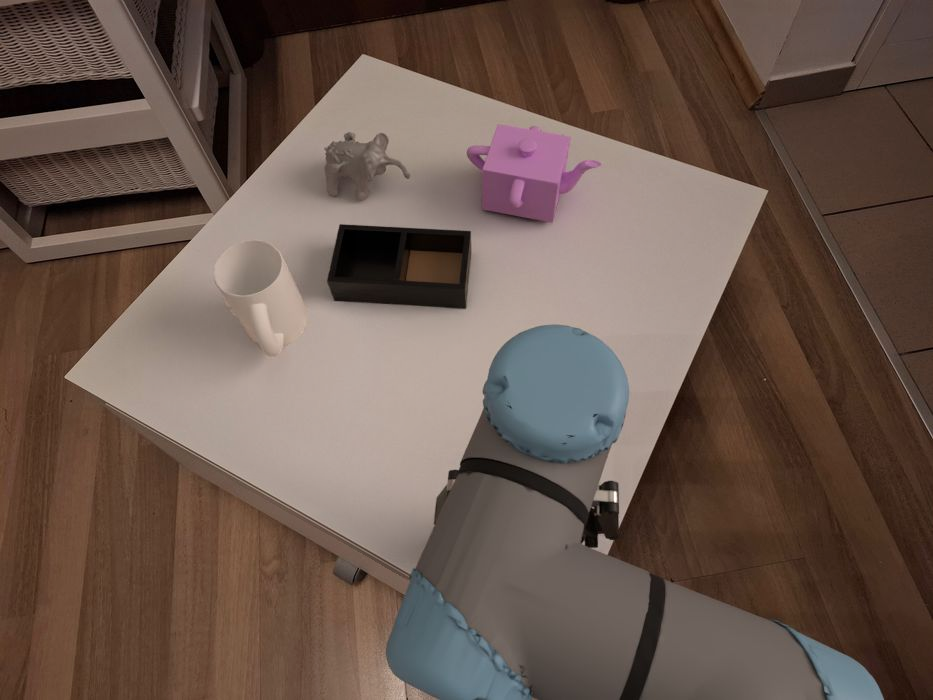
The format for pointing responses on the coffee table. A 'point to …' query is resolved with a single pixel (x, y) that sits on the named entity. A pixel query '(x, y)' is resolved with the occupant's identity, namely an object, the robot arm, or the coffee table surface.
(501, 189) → the teapot
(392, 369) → the coffee table surface
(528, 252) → the coffee table surface
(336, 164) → the gray elephant figurine
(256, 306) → the mug
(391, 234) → the black divided tray
